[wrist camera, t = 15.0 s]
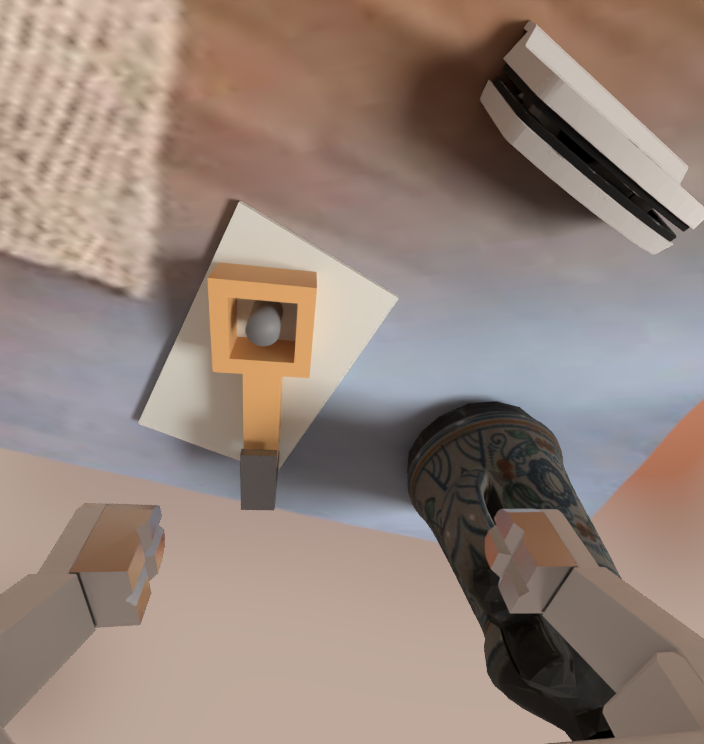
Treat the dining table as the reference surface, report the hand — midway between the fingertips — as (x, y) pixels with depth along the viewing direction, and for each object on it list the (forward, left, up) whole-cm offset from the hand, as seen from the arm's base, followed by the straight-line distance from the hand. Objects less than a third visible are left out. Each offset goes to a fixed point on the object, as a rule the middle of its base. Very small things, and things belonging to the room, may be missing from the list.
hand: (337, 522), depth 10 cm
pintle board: (0, -11, -26) cm, 28 cm away
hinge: (+12, +16, -27) cm, 34 cm away
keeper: (+4, -19, -26) cm, 32 cm away
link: (+1, -11, -25) cm, 28 cm away
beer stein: (+25, -11, -26) cm, 38 cm away
